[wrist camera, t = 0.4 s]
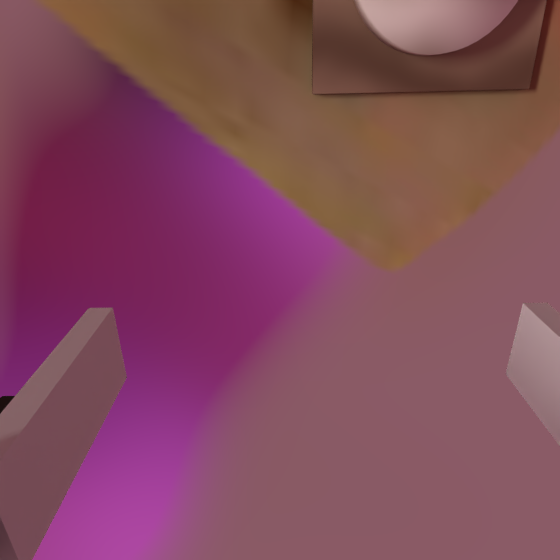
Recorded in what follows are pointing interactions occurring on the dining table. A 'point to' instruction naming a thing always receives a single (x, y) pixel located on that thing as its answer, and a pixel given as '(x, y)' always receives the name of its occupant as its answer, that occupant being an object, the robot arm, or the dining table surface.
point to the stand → (424, 45)
